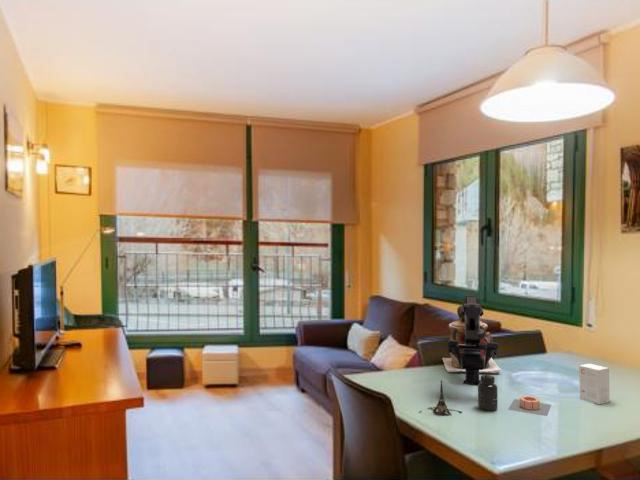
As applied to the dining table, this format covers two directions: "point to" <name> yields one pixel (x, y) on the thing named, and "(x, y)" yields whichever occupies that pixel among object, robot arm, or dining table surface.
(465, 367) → the robot arm
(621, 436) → the dining table surface
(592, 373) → the small box
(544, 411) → the slate mat
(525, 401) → the terracotta bowl
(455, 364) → the cookie jar
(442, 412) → the eiffel tower figurine
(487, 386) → the supplement bottle
